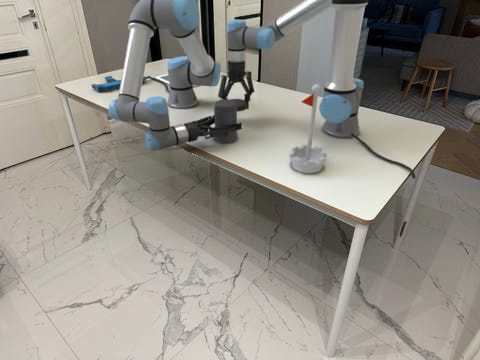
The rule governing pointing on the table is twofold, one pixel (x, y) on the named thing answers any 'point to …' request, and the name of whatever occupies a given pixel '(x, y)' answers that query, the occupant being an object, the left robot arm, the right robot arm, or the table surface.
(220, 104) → the jar
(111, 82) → the submachine gun
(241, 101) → the lid
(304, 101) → the flag stand
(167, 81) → the tablet
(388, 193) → the table surface
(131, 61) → the left robot arm
